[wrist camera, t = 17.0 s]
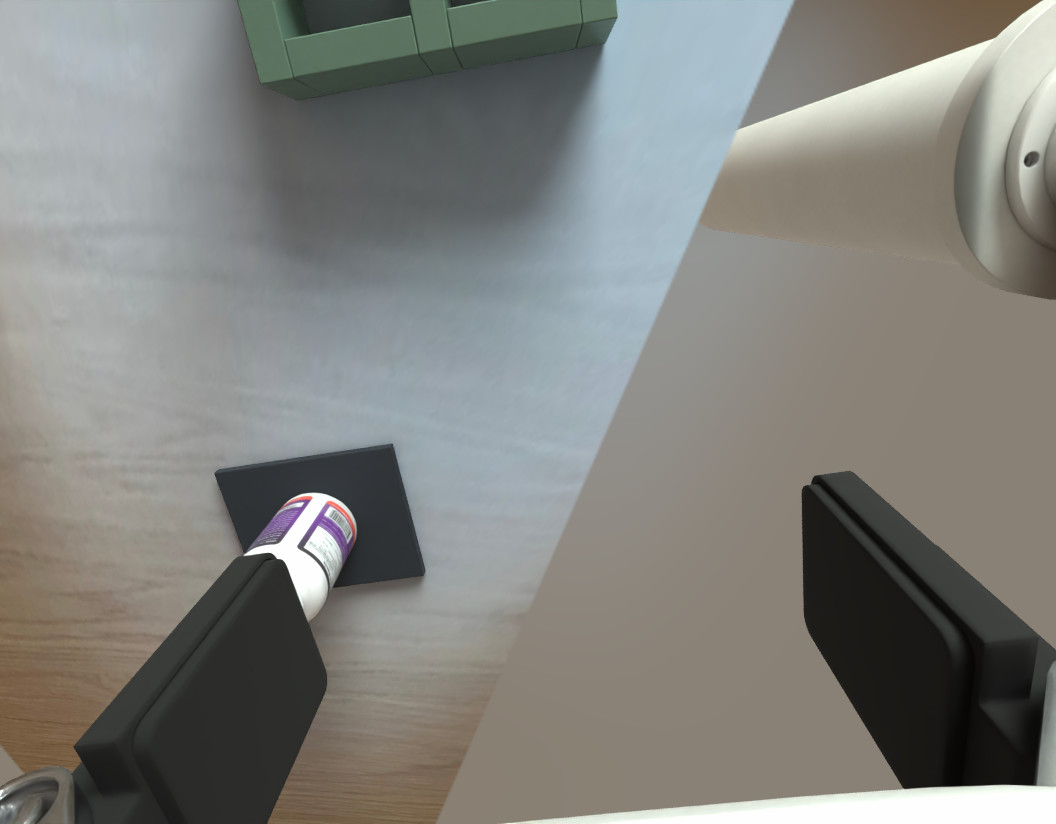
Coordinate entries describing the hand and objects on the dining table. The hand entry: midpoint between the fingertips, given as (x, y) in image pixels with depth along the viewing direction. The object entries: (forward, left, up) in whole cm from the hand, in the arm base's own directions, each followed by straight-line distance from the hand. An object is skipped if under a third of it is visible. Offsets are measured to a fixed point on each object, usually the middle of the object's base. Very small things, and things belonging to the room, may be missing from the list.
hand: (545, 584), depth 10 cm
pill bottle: (+17, +12, -26) cm, 33 cm away
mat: (+17, +12, -26) cm, 33 cm away
